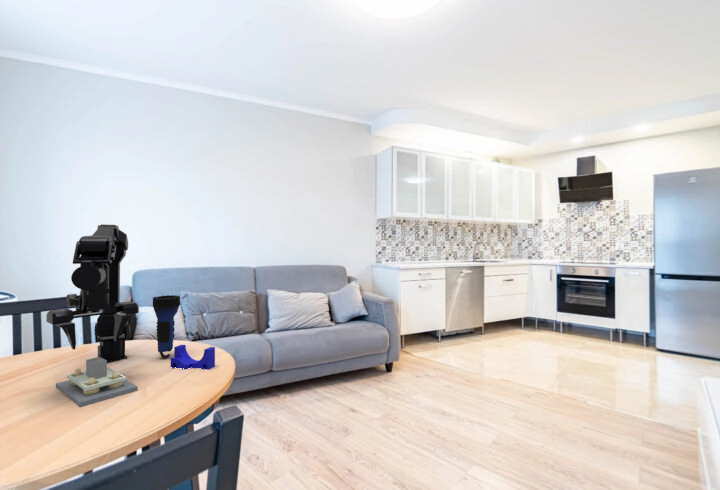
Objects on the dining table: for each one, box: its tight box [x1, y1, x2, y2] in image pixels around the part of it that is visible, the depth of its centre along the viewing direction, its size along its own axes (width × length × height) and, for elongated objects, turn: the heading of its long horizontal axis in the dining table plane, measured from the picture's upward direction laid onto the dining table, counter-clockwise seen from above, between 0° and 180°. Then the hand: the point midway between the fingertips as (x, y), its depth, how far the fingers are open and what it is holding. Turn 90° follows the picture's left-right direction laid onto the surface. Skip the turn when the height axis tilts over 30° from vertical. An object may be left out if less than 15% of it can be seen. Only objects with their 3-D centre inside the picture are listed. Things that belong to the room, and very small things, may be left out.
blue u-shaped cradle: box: [170, 344, 216, 371], centre depth 110 cm, size 12×4×6 cm, turn 76°
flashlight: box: [152, 294, 181, 359], centre depth 119 cm, size 8×8×20 cm
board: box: [66, 356, 127, 391], centre depth 93 cm, size 9×14×5 cm, turn 53°
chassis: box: [55, 368, 139, 408], centre depth 93 cm, size 12×19×4 cm, turn 53°
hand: (95, 345), depth 95 cm, fingers open, 9 cm apart
